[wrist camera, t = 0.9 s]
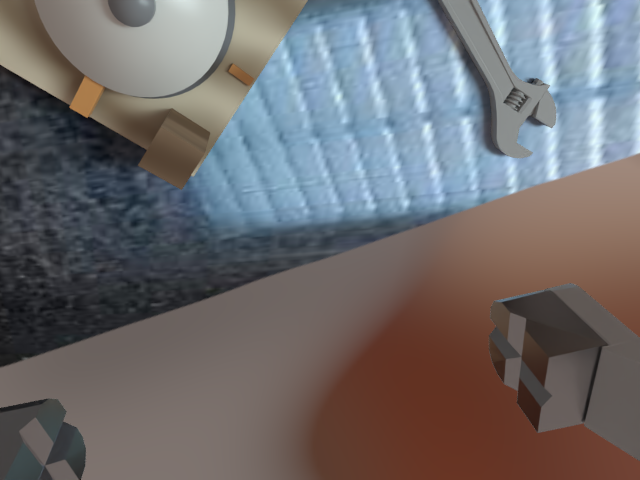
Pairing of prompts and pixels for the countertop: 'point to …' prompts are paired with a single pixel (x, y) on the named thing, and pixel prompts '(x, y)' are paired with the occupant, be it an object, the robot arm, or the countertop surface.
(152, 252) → the countertop surface
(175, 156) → the block
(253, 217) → the countertop surface
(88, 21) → the dial
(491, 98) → the adjustable wrench
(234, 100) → the panel
